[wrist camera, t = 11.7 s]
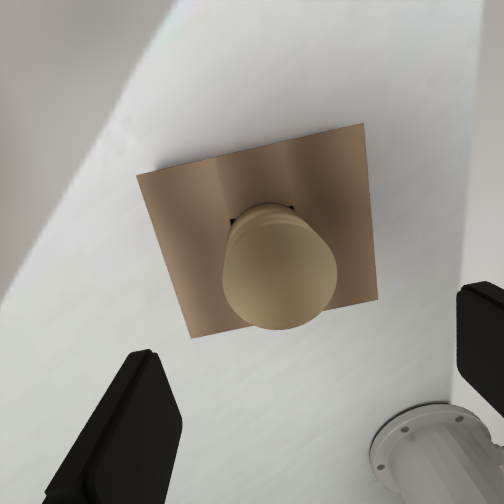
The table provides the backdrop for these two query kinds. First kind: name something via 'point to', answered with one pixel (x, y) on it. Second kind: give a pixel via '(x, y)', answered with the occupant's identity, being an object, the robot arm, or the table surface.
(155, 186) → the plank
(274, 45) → the table surface
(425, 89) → the table surface
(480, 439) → the robot arm
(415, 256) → the table surface
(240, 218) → the peg
